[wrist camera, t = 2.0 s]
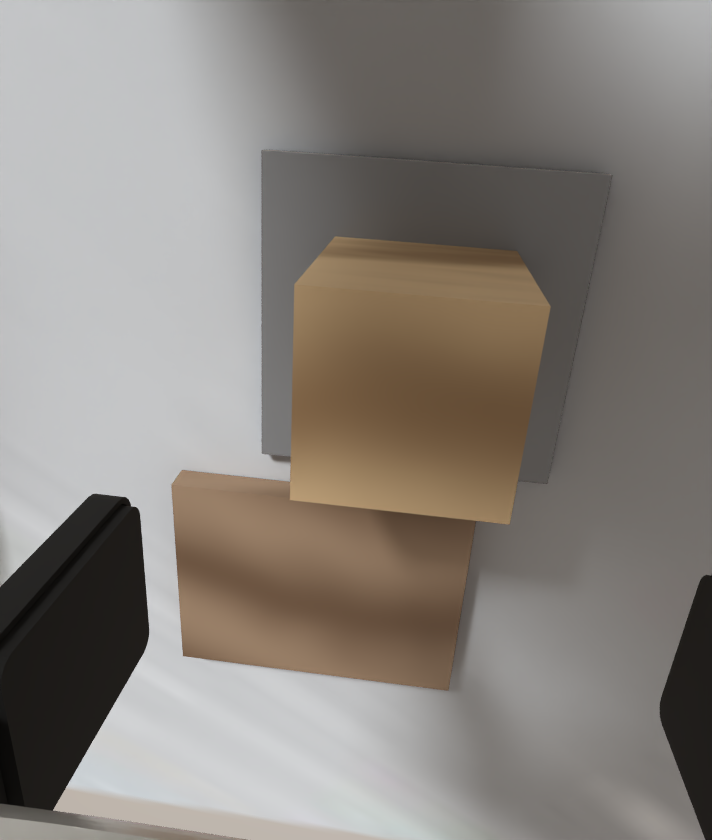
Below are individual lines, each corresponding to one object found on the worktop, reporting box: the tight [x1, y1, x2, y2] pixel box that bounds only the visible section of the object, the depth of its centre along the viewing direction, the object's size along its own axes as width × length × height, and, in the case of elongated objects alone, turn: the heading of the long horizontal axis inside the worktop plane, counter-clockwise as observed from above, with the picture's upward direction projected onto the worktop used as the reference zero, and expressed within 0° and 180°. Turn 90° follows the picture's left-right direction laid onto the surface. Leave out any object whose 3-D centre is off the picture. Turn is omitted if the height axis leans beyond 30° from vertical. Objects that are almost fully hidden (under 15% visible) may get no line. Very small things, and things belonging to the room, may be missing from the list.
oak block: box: [290, 236, 551, 524], centre depth 20 cm, size 6×6×7 cm
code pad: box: [262, 150, 612, 484], centre depth 23 cm, size 11×11×1 cm
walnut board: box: [172, 470, 476, 691], centre depth 28 cm, size 9×12×1 cm
